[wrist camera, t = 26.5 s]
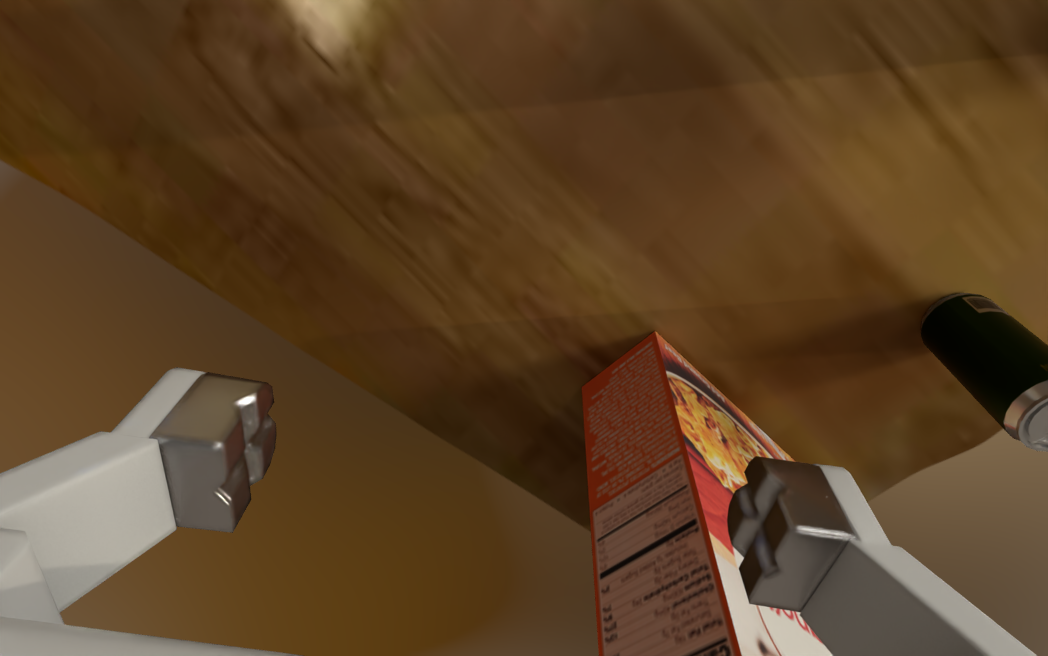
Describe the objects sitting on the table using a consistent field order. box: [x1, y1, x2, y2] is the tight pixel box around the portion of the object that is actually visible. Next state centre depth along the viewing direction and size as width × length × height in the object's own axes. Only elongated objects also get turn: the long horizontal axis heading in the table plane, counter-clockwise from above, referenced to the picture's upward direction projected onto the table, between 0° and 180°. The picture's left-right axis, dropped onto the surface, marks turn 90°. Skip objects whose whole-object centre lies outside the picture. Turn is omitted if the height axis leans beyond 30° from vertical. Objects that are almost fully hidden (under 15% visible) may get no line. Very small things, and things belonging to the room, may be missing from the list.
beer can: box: [920, 293, 1048, 451], centre depth 42 cm, size 5×5×12 cm
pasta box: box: [582, 331, 833, 656], centre depth 42 cm, size 23×8×30 cm, turn 46°
